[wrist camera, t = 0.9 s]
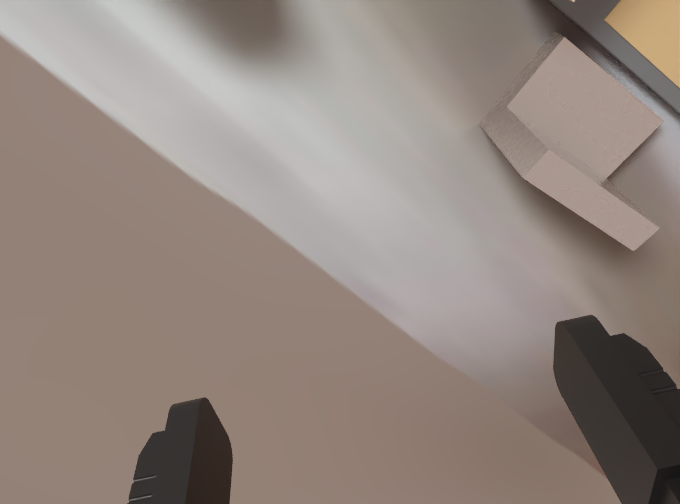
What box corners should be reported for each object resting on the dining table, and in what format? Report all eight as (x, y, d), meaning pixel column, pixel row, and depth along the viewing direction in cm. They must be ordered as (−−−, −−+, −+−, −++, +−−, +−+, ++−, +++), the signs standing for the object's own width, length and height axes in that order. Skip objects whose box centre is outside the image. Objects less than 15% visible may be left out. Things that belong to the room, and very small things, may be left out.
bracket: (478, 123, 36) (522, 178, 29) (553, 30, 33) (622, 69, 26) (575, 189, 40) (633, 251, 33) (651, 112, 37) (731, 164, 30)
